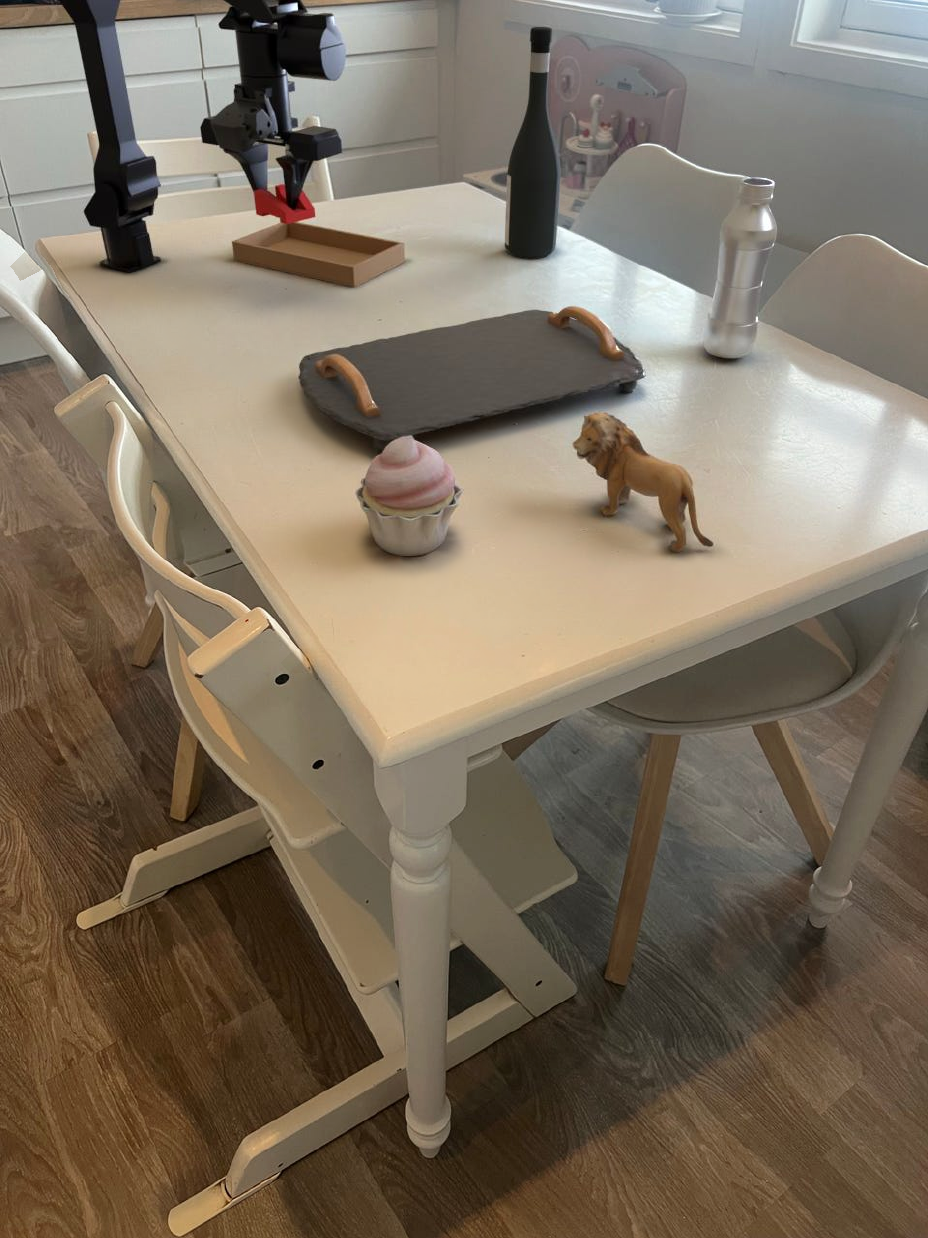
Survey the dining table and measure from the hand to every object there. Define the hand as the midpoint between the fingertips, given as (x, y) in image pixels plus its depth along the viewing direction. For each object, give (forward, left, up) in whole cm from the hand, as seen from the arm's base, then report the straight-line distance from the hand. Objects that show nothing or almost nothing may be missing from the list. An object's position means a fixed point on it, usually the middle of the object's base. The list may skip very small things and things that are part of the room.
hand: (277, 207), depth 127 cm
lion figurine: (+65, -31, -12) cm, 73 cm away
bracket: (+1, 0, -1) cm, 2 cm away
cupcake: (+49, -44, -12) cm, 67 cm away
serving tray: (+38, -14, -12) cm, 42 cm away
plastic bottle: (+60, +11, -12) cm, 62 cm away
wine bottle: (+21, +34, -12) cm, 42 cm away
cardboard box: (-4, +13, -11) cm, 18 cm away
